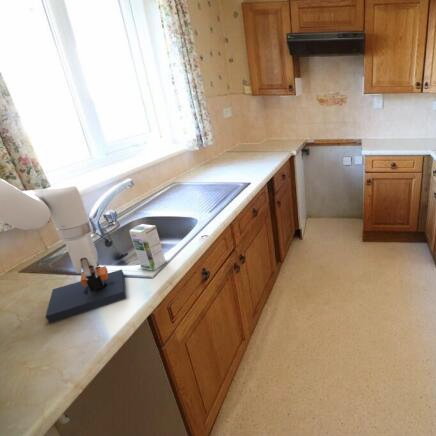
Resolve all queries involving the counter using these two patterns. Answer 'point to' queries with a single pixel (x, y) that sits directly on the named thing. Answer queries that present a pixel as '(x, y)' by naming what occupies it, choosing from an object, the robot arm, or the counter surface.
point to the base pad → (84, 297)
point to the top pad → (101, 272)
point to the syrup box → (147, 246)
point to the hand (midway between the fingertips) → (97, 283)
